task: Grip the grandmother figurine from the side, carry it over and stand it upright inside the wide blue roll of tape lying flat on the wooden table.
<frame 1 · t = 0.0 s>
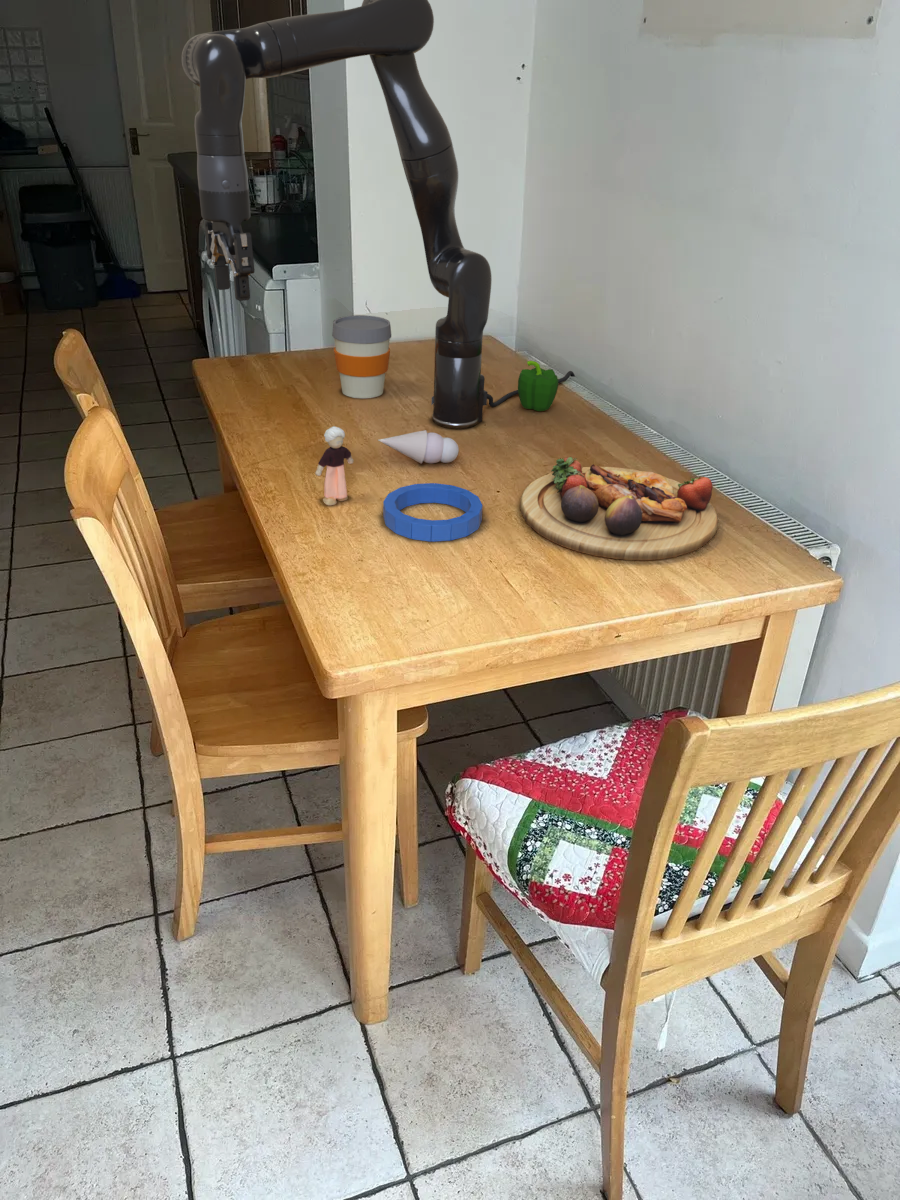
hand: (232, 294, 148), 29 cm above the table, tool pointing down, fingers open, 8 cm apart
reusable coffee cup: (362, 392, 199), on the table
ice cream cone: (418, 463, 166), on the table
tape ring: (432, 519, 146), on the table
grandmother figurine: (337, 500, 151), on the table
bell pepper: (536, 408, 194), on the table
wooden plate: (616, 518, 149), on the table
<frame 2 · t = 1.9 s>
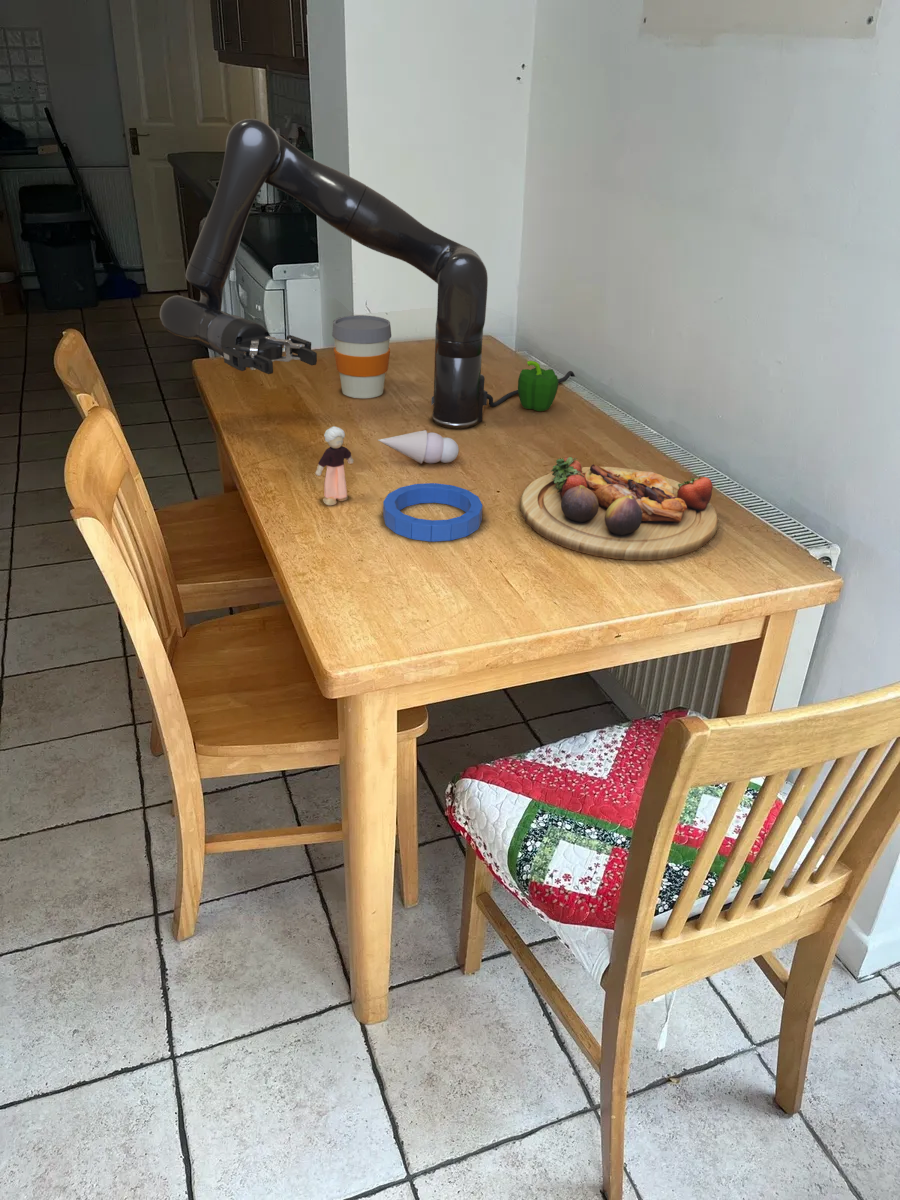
hand: (293, 363, 147), 20 cm above the table, tool horizontal, fingers open, 8 cm apart
nothing on the table moved.
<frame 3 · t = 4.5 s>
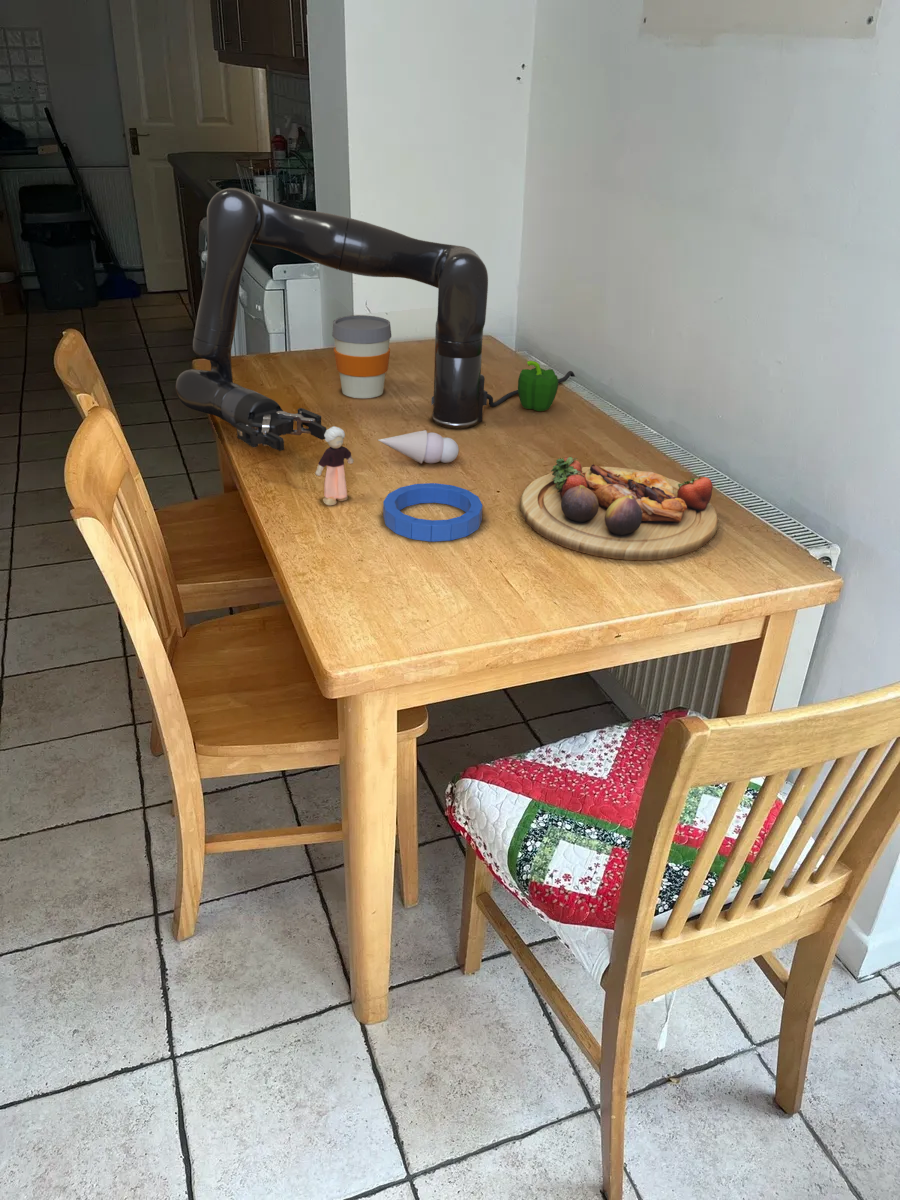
hand: (304, 439, 152), 8 cm above the table, tool horizontal, fingers open, 8 cm apart
nothing on the table moved.
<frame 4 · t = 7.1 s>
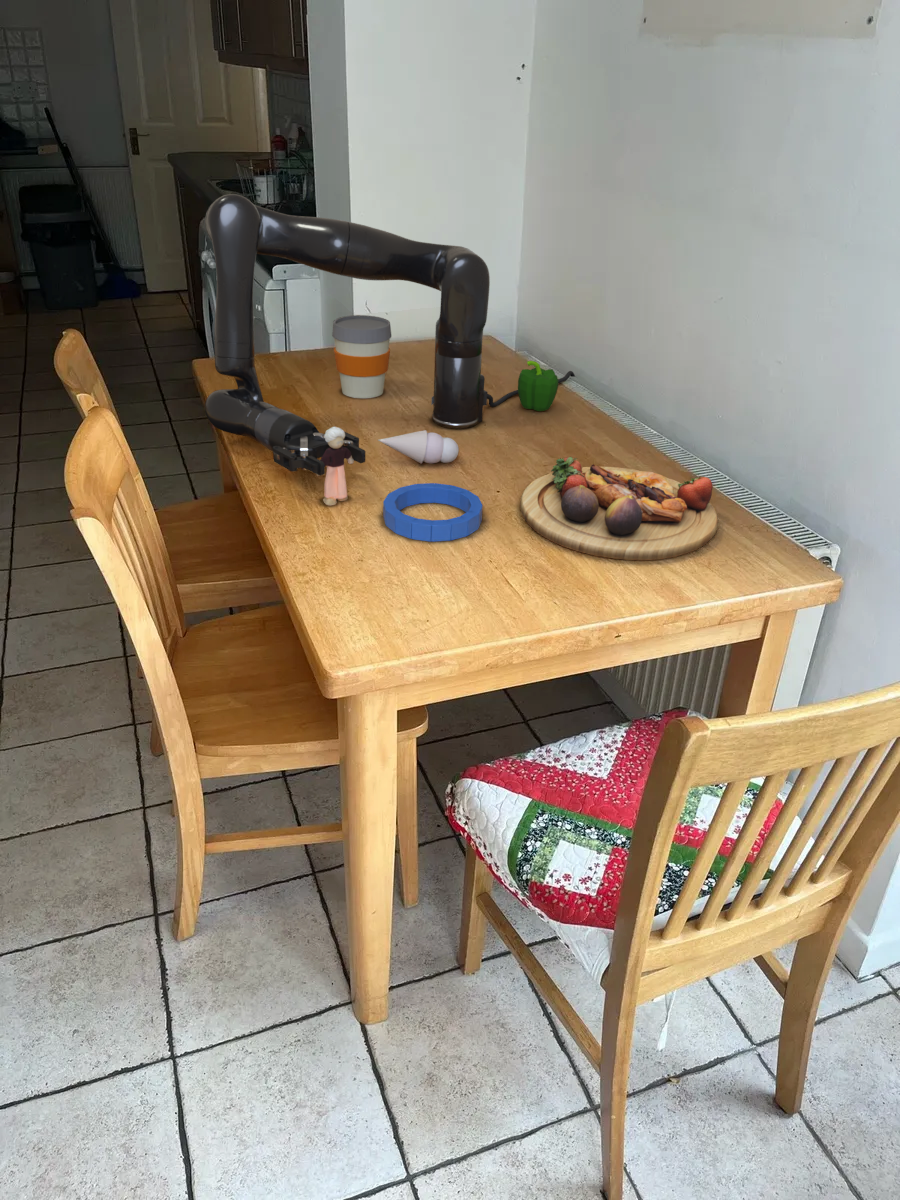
hand: (343, 463, 146), 7 cm above the table, tool horizontal, fingers closed on grandmother figurine, 7 cm apart
grandmother figurine: (337, 500, 151), on the table, touching gripper
everything else where it was.
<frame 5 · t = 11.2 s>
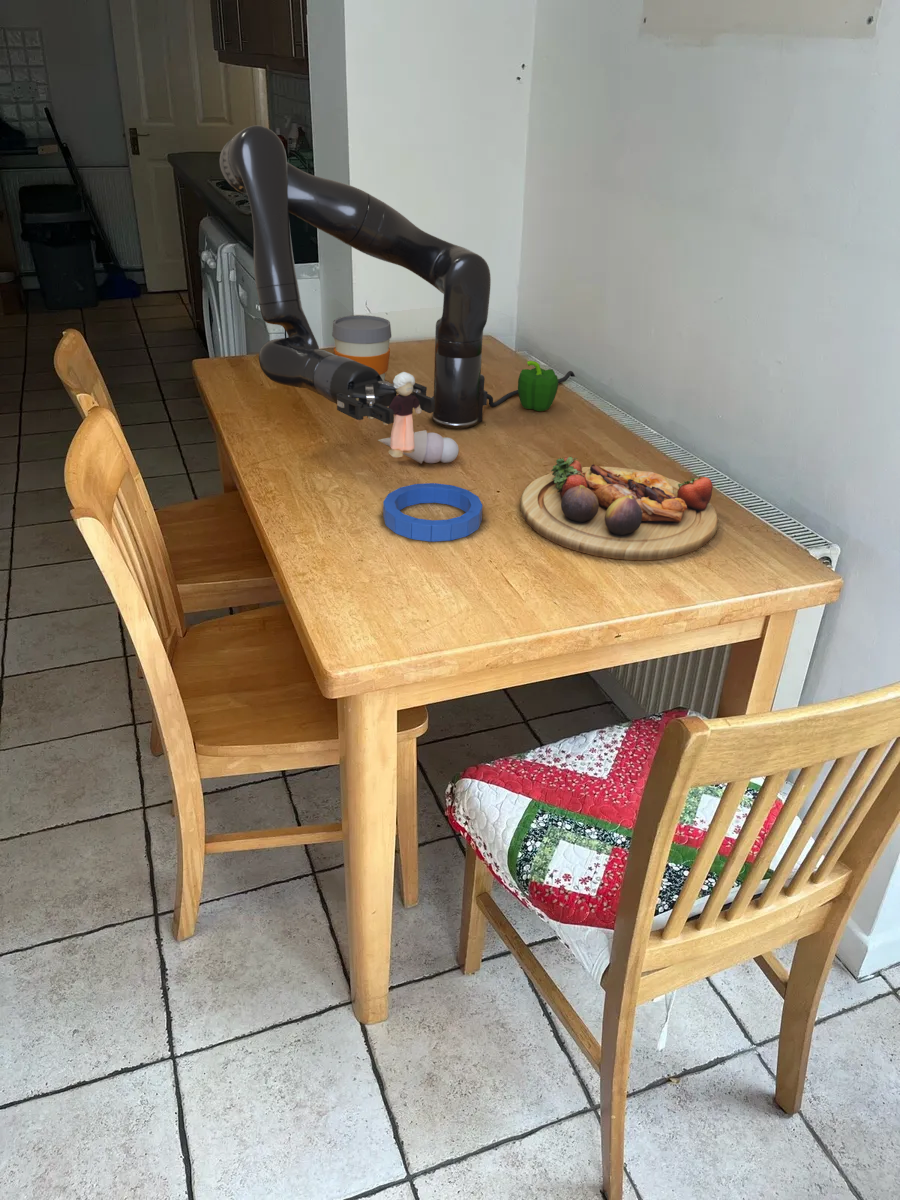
hand: (413, 411, 137), 18 cm above the table, tool horizontal, fingers closed on grandmother figurine, 7 cm apart
grandmother figurine: (403, 452, 142), point 10 cm above the table, touching gripper
everything else where it was.
when the fingers open (7 cm above the table, at t = 15.5 s): grandmother figurine stays where it is, resting in tape ring.
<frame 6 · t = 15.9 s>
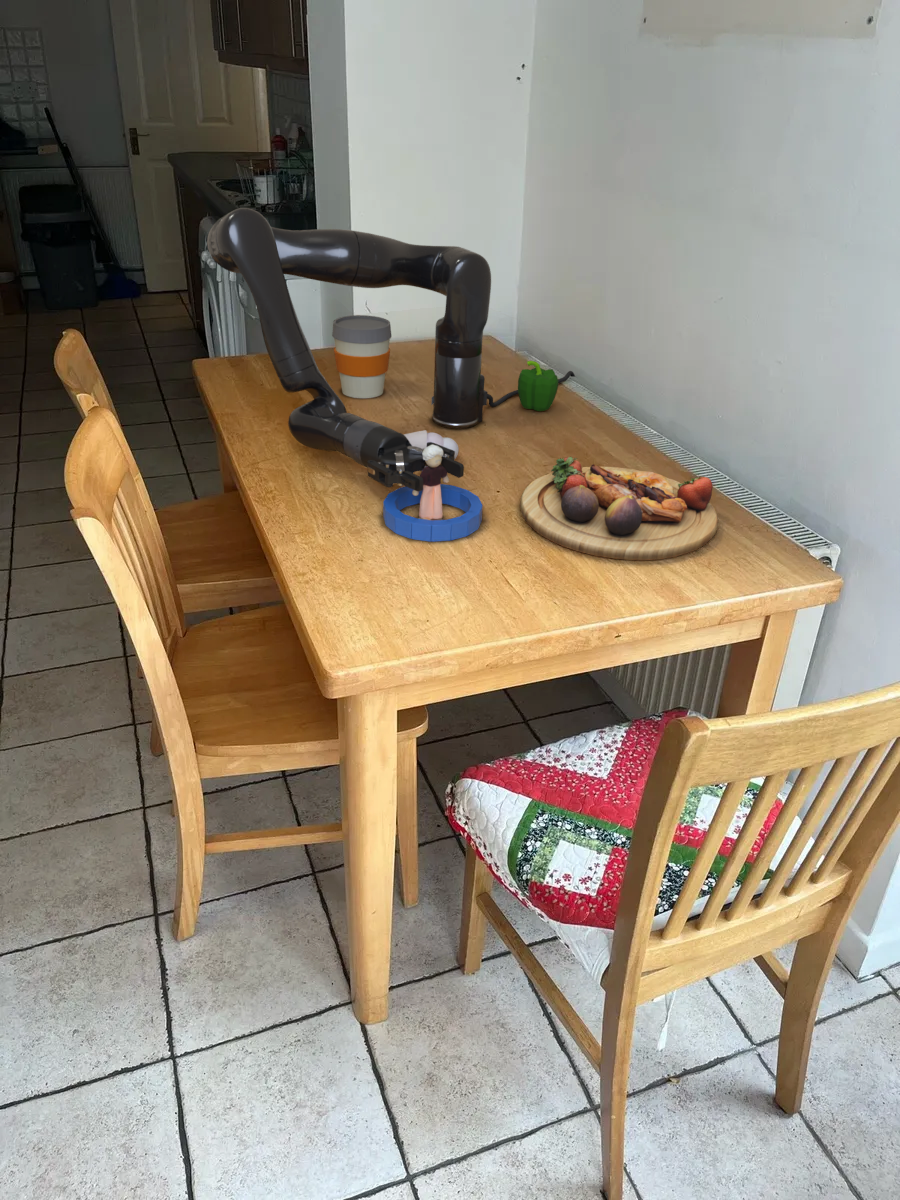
hand: (442, 478, 141), 8 cm above the table, tool horizontal, fingers open, 8 cm apart
grandmother figurine: (431, 520, 146), resting in tape ring
everything else where it was.
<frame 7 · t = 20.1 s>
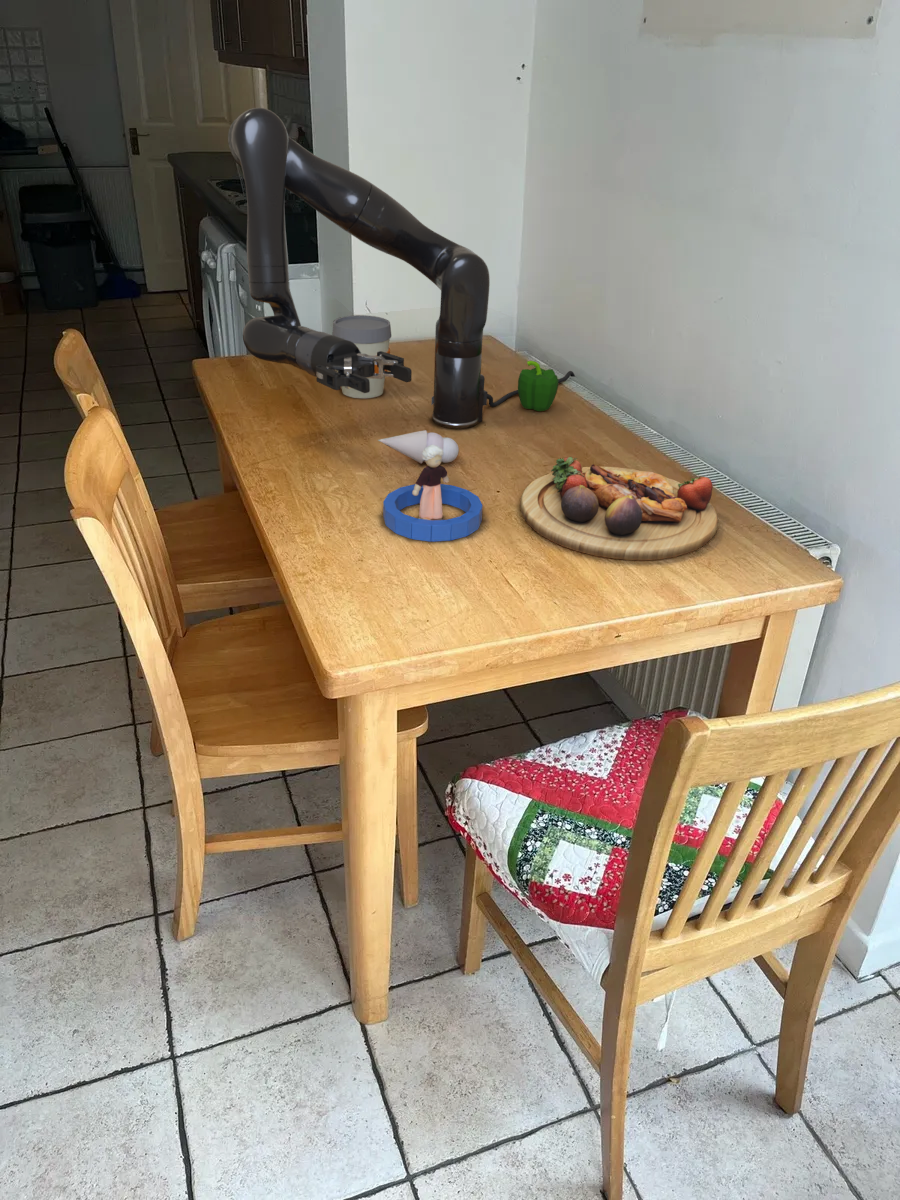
hand: (389, 381, 143), 20 cm above the table, tool horizontal, fingers open, 8 cm apart
nothing on the table moved.
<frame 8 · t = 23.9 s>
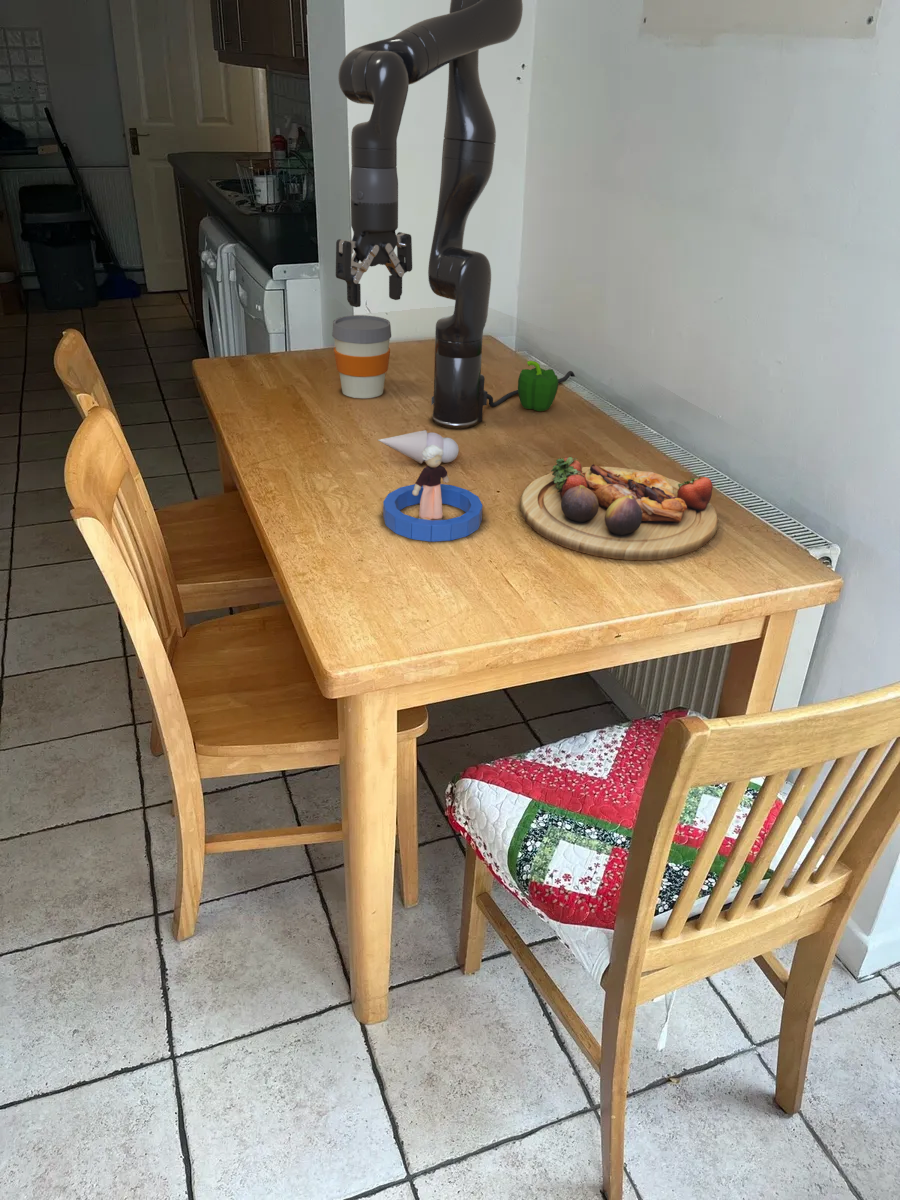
hand: (375, 302, 152), 28 cm above the table, tool pointing down, fingers open, 8 cm apart
nothing on the table moved.
at the end: grandmother figurine 0.2 cm off-centre on the tape ring, point 0.0 cm above the tape ring's base; grandmother figurine tilted 0°; the gripper is holding nothing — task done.
